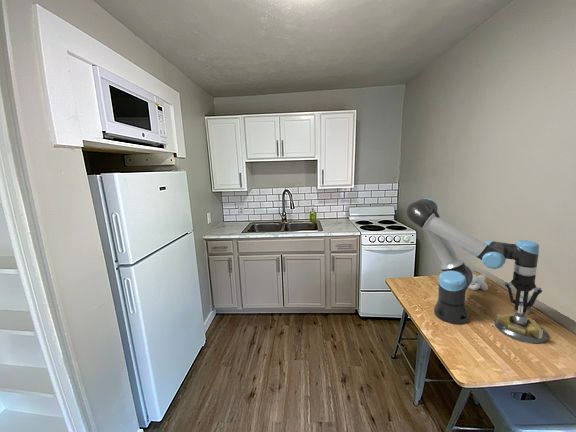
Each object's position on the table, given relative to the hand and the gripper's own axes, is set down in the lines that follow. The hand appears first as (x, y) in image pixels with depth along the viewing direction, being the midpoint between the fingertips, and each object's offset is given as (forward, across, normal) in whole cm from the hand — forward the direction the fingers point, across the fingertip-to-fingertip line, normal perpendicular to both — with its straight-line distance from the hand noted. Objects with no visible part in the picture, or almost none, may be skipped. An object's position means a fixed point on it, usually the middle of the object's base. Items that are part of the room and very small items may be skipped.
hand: (519, 316), depth 119 cm
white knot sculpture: (+4, +18, -28) cm, 34 cm away
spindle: (+3, 0, +7) cm, 8 cm away
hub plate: (+3, 0, +7) cm, 8 cm away
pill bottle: (+3, -2, -12) cm, 12 cm away
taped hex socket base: (+1, 0, +6) cm, 6 cm away
